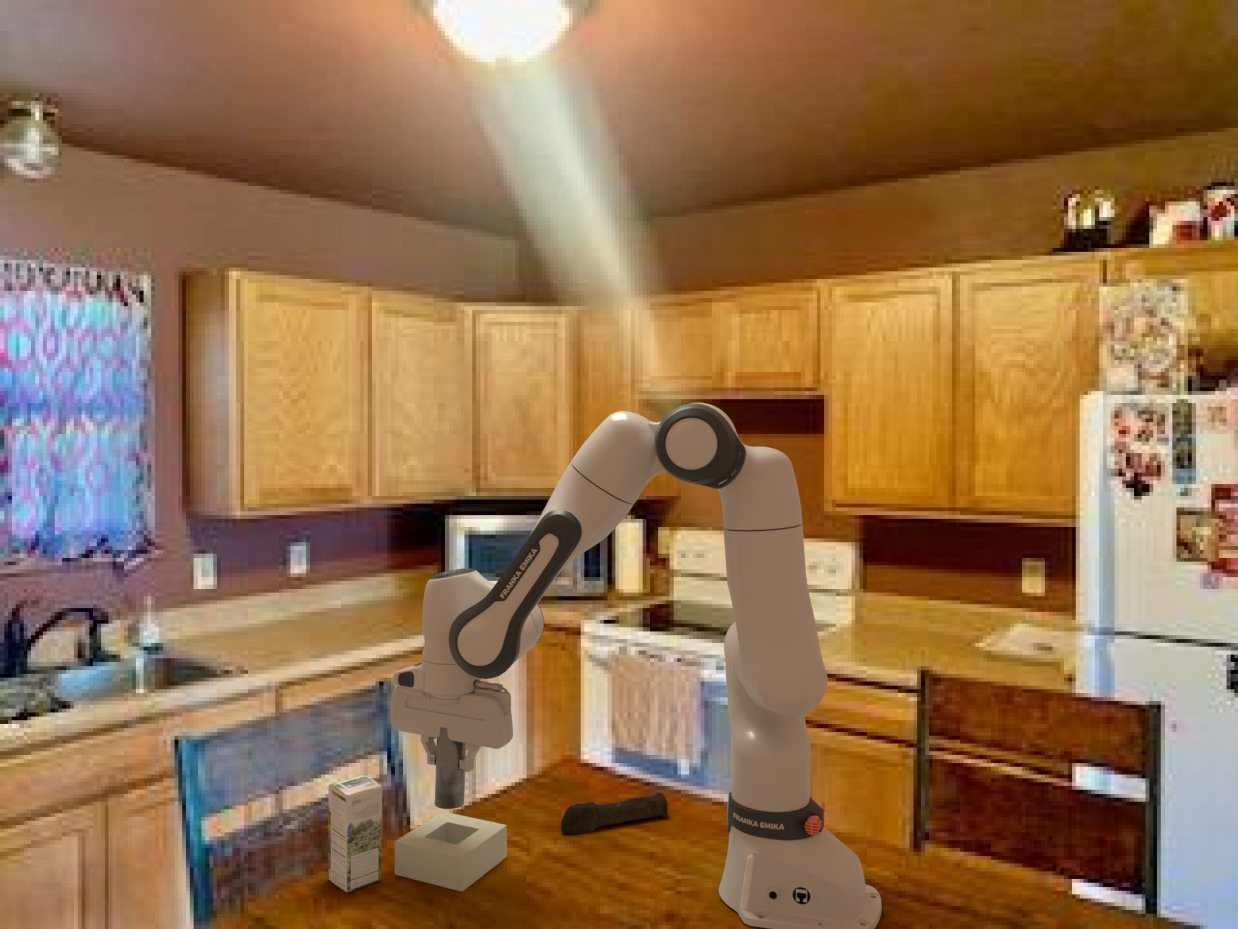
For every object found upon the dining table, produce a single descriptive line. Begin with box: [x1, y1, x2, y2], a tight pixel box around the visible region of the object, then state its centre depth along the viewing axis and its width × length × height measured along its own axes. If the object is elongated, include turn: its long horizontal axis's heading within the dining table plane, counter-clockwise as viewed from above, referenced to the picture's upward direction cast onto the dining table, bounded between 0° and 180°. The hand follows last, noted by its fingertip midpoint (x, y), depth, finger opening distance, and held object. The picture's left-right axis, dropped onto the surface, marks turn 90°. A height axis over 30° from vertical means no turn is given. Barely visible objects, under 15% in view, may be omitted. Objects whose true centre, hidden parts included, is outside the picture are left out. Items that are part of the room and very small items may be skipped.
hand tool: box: [560, 792, 669, 834], centre depth 155 cm, size 19×4×5 cm, turn 112°
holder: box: [394, 811, 508, 893], centre depth 140 cm, size 12×12×5 cm
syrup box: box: [327, 774, 383, 894], centre depth 135 cm, size 6×6×14 cm
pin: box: [434, 727, 467, 810], centre depth 140 cm, size 4×4×12 cm
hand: (450, 767), depth 139 cm, fingers closed on pin, 4 cm apart
